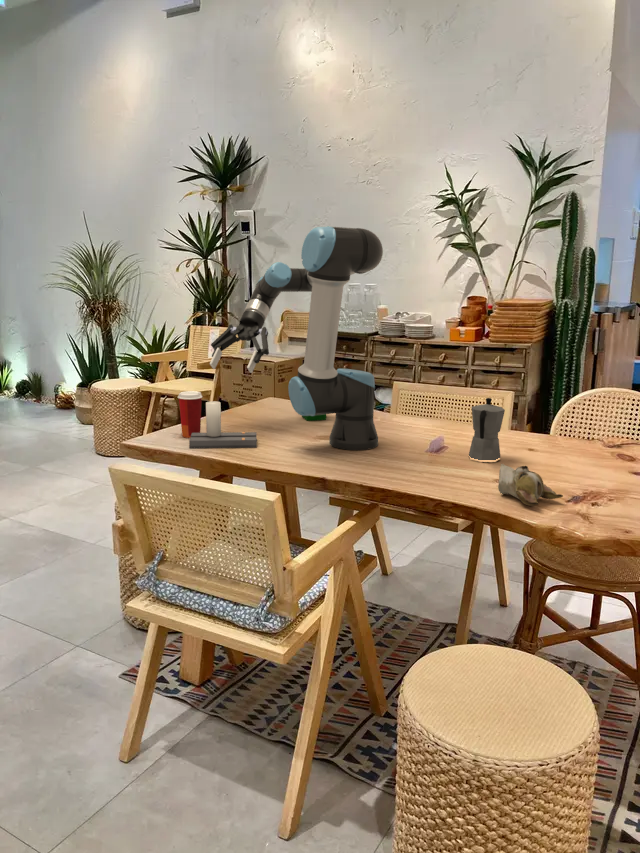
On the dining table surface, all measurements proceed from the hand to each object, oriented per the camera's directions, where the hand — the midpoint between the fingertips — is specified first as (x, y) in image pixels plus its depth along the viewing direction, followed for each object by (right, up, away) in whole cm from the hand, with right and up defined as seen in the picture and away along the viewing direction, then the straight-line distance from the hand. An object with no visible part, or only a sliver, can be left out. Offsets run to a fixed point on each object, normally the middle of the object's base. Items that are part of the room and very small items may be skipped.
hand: (230, 368), depth 213 cm
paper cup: (-13, -21, +4) cm, 26 cm away
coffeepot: (+75, -28, -17) cm, 82 cm away
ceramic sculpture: (+77, -36, -50) cm, 99 cm away
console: (-1, -24, -5) cm, 24 cm away
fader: (-4, -24, -5) cm, 25 cm away
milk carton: (+26, -16, +33) cm, 44 cm away
